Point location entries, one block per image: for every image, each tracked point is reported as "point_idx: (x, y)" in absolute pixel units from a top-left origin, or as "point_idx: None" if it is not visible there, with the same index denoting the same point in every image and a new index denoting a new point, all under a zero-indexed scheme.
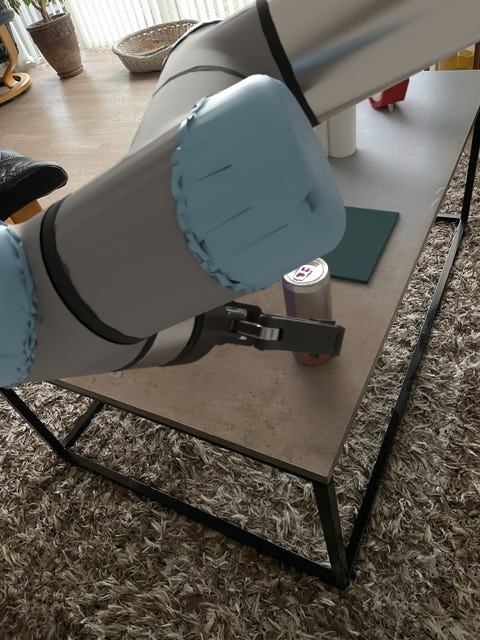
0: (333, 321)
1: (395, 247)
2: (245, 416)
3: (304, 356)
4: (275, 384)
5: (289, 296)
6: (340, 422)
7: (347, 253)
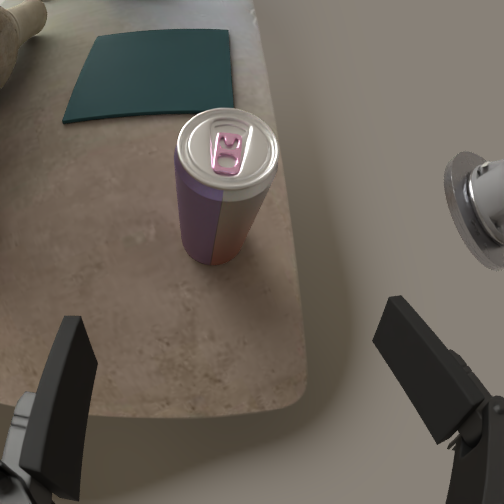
0: (411, 308)
1: (242, 65)
2: (174, 379)
3: (216, 261)
4: (187, 313)
5: (206, 207)
6: (296, 333)
7: (192, 79)
